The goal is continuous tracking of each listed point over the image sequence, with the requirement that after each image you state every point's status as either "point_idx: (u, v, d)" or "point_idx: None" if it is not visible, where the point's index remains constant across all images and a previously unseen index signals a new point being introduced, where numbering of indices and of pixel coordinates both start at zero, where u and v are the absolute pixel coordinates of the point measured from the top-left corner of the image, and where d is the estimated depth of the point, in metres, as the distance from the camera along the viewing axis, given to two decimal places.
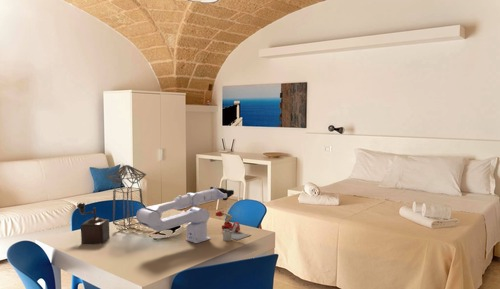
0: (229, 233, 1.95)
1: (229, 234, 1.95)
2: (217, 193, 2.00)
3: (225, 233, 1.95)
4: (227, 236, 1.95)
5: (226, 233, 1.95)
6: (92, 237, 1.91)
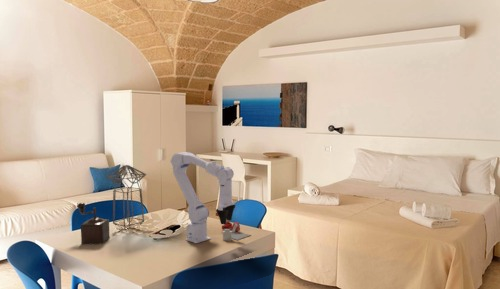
0: (229, 233, 1.95)
1: (229, 234, 1.95)
2: (225, 203, 1.86)
3: (225, 233, 1.95)
4: (227, 236, 1.95)
5: (226, 233, 1.95)
6: (92, 237, 1.91)
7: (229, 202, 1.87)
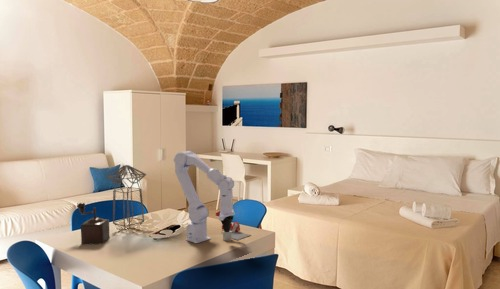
0: (229, 233, 1.95)
1: (229, 234, 1.95)
2: (226, 213, 1.87)
3: (225, 233, 1.95)
4: (227, 236, 1.95)
5: (226, 233, 1.95)
6: (92, 237, 1.91)
7: (230, 212, 1.88)
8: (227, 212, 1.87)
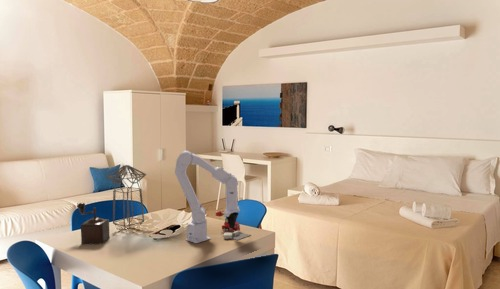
0: (230, 233, 2.00)
1: (230, 233, 1.99)
2: (231, 209, 1.94)
3: (226, 233, 2.00)
4: (228, 234, 1.98)
5: (227, 233, 2.00)
6: (92, 237, 1.91)
7: (235, 209, 1.95)
8: (232, 209, 1.94)
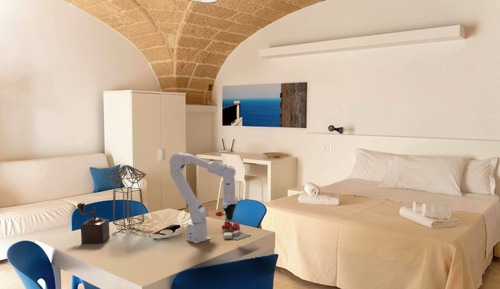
0: (230, 233, 2.00)
1: (230, 233, 1.99)
2: (228, 201, 1.90)
3: (226, 233, 2.00)
4: (228, 234, 1.98)
5: (227, 233, 2.00)
6: (92, 237, 1.91)
7: (232, 200, 1.91)
8: (230, 200, 1.90)
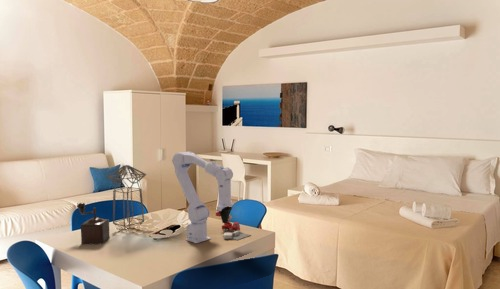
0: (230, 233, 2.00)
1: (230, 233, 1.99)
2: (224, 203, 1.85)
3: (226, 233, 2.00)
4: (228, 234, 1.98)
5: (227, 233, 2.00)
6: (92, 237, 1.91)
7: (228, 203, 1.85)
8: (225, 203, 1.85)
